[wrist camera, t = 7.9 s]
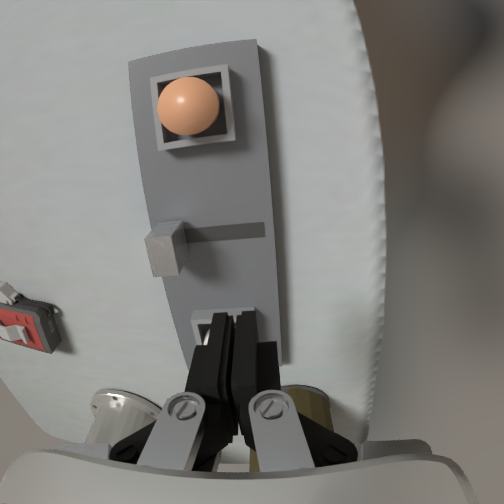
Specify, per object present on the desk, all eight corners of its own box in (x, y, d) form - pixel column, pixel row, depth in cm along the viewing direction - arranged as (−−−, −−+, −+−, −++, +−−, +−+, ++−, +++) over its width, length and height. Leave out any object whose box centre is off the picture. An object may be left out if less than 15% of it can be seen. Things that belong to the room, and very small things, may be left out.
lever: (182, 219, 24) (171, 236, 20) (188, 254, 25) (179, 275, 21) (159, 222, 24) (144, 238, 20) (166, 256, 25) (153, 276, 22)
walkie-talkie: (52, 285, 29) (-36, 271, 29) (32, 305, 25) (-54, 285, 25) (71, 345, 33) (-19, 320, 32) (56, 367, 29) (-33, 336, 28)
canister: (253, 432, 38) (252, 559, 19) (244, 387, 34) (237, 547, 15) (329, 424, 37) (350, 549, 19) (335, 378, 33) (370, 533, 15)
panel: (281, 356, 31) (283, 376, 29) (190, 360, 32) (185, 379, 29) (256, 44, 20) (256, 33, 17) (135, 64, 20) (120, 58, 17)
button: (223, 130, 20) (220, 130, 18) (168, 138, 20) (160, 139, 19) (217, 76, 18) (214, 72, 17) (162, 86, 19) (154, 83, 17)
